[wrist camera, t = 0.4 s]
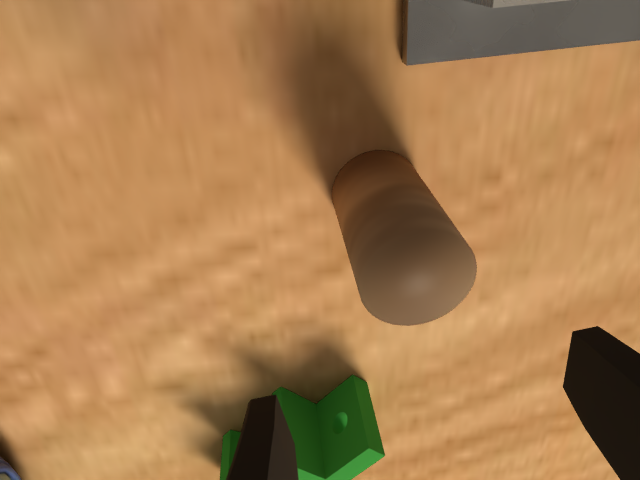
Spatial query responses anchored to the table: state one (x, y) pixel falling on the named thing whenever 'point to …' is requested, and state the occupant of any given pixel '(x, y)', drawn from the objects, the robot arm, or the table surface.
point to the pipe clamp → (326, 433)
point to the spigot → (400, 241)
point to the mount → (511, 27)
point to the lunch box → (7, 471)
